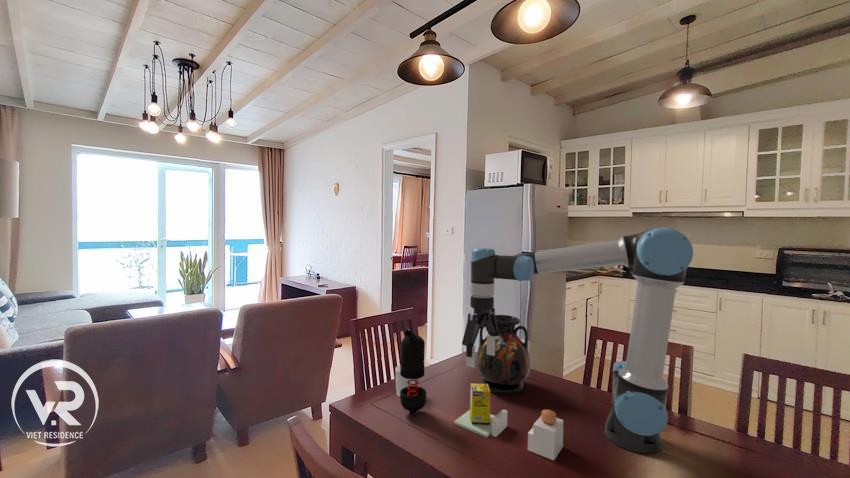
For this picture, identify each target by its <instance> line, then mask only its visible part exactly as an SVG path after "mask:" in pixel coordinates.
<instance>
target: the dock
mask: <svg viewBox="0 0 850 478" xmlns="http://www.w3.org/2000/svg"><path fill="white" fill-rule="evenodd" d="M494 416H495V417H494V418H493V419H492V433H491V434H490V436H492V437H494V438H497V437H498V436H499V435H500V434H501V433H502V432H503V431H504V430H505V429H506V428H507V427H508V410H506V409H502V410H501V411H499V412H498V413H497V414H496V415H494ZM563 447H564V419H561V418H559V417H556V422H555V423H553V424H551V425H549V424H546V422H544V421H542V419H541V415H540V416H539V418H537V419H536V421H535V422H534V423H533V425H532V428H531V429H530V430H529V431H528V432H527V451H529V452H531V453H533V454H537V455H538V456H541V457H544V458H547V459H549V460H551V461H556V459H557V457H558V455H559V454H560V452H561V450H562V449H563Z"/></svg>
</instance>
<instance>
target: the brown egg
mask: <svg viewBox="0 0 850 478" xmlns="http://www.w3.org/2000/svg"><path fill="white" fill-rule="evenodd" d="M540 416H541V419H542V421H544V422H546V424H549V425H551V424H553V423H555V422H556V418H557V413H556V412H555V411H554V410H551V409H543V410H541V415H540Z"/></svg>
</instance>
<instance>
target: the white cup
mask: <svg viewBox="0 0 850 478" xmlns="http://www.w3.org/2000/svg"><path fill="white" fill-rule="evenodd" d="M400 365H401V364H399V365H397V366H395V370H394V371H395V389H396V396H397V397H399V398H400V391H401V390H402V389H403V388H405V387H408V383H407V381H409V380H415V379H406V378H404V377H402V376H401V375H400V371H401V370H400V369H401V368H400ZM409 383H411V384H415V381H410V382H409ZM409 386H410V385H409Z"/></svg>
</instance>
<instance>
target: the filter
mask: <svg viewBox="0 0 850 478" xmlns="http://www.w3.org/2000/svg"><path fill="white" fill-rule="evenodd" d="M413 332H414V330H410V329H406V330H405V331H404V335H405V336H404V337H403V338H402V340H401V342H400V343H401V344H400V364H399V365H400V368H401V369H400V370H401V371H400V375H401V376H402V377H404V378H406V379H415V380H409V381H407V383H408V387H405V388H403V389H402V390H401V391H400V397H399V399H400V405H401V406H402V408H403V409H404V410H406V411H407V412H408V413H409V415H411V416H414V415H416V414H417V412H418V411H420V410H422V409H423V408H424V406H425V404H426V401H427V391H426V388H423V387H422V386H418V384H419V379H421V378H423V377H424V376H425V351H426V350H425V349H426V348H425V346H426V344H425V340H424V338H423V337H421V336H420V335H417V334H415V333H413ZM410 381H415V384H411V383H409V382H410ZM409 385H410V386H409Z"/></svg>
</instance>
